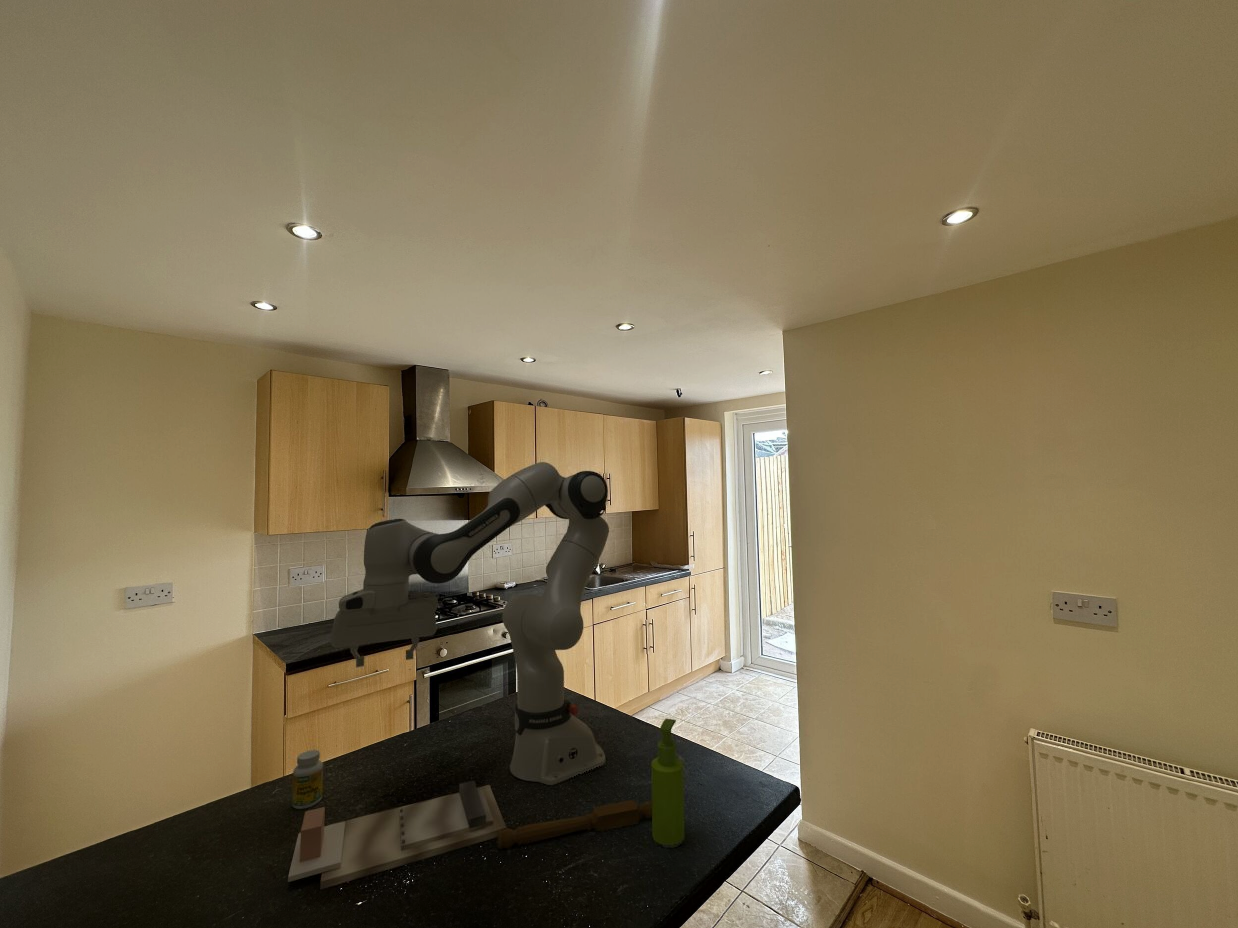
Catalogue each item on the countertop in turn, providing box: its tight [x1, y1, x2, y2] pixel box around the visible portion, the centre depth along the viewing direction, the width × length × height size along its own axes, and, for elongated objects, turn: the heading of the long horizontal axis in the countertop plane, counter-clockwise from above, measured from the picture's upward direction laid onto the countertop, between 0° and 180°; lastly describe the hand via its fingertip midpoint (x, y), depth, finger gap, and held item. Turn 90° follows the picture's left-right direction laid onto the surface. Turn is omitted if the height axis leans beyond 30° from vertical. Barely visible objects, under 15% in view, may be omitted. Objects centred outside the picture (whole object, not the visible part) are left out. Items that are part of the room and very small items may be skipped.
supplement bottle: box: [291, 749, 324, 810], centre depth 104 cm, size 5×5×10 cm
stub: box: [287, 806, 345, 883], centre depth 87 cm, size 7×12×6 cm, turn 26°
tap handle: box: [497, 799, 652, 850], centre depth 94 cm, size 3×3×30 cm
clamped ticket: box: [319, 780, 507, 890], centre depth 94 cm, size 30×16×4 cm, turn 116°
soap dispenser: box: [650, 718, 685, 845], centre depth 93 cm, size 6×7×20 cm
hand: (385, 662), depth 105 cm, fingers open, 8 cm apart
